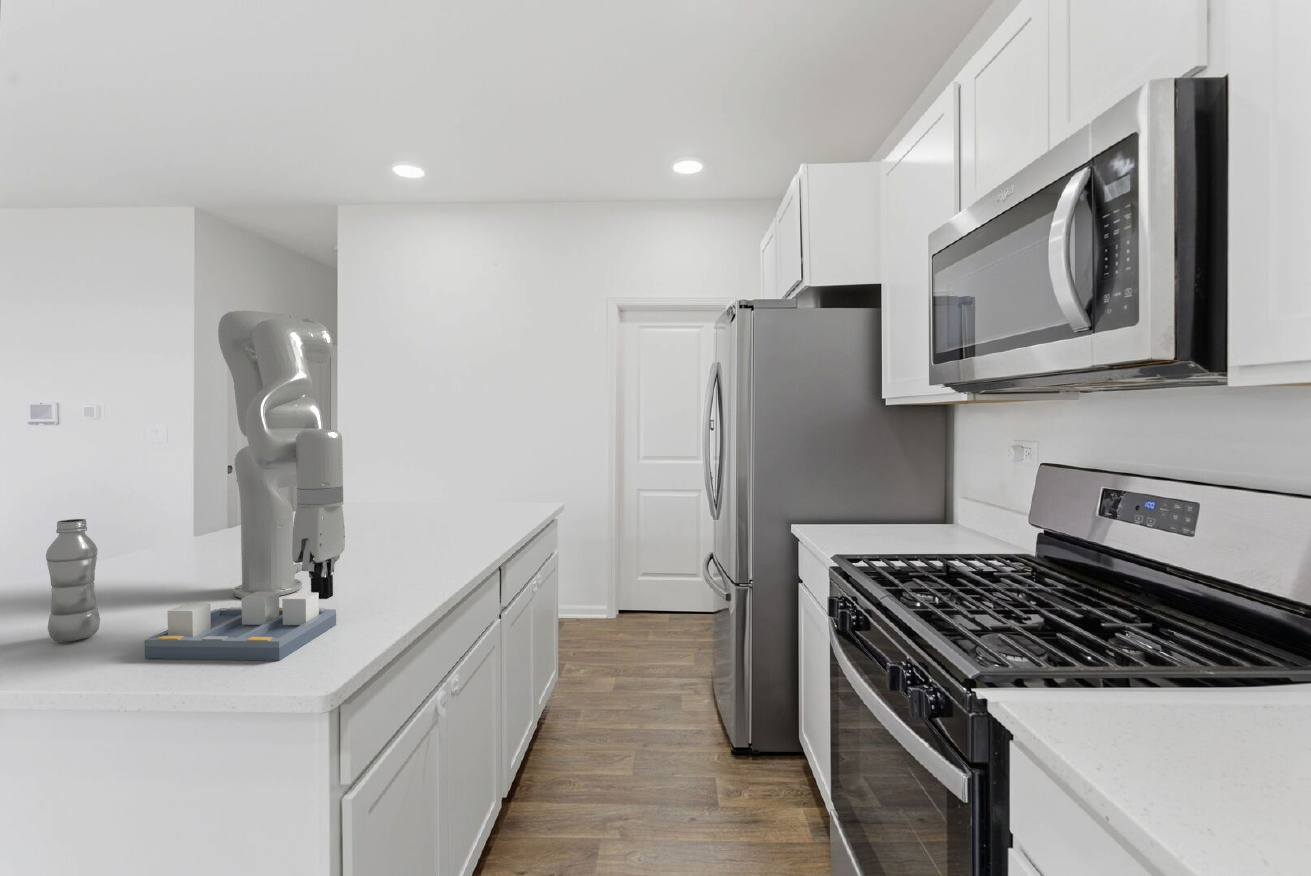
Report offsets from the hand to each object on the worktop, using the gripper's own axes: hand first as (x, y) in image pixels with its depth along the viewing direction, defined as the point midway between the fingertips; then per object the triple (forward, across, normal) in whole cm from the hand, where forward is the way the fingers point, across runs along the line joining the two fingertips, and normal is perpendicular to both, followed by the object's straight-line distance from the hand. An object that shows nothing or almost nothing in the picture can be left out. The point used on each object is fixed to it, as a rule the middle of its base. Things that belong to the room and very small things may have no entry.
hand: (322, 597), depth 117 cm
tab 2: (+2, +6, -7) cm, 10 cm away
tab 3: (+2, +6, 0) cm, 7 cm away
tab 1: (+2, +13, -14) cm, 20 cm away
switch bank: (+5, +10, -7) cm, 13 cm away
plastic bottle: (+4, +10, -36) cm, 38 cm away
